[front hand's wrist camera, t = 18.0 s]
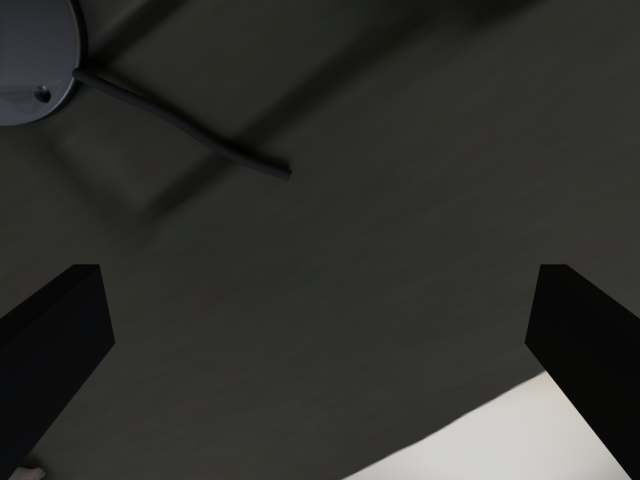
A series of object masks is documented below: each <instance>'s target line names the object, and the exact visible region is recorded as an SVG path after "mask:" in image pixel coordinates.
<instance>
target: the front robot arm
mask: <svg viewBox="0 0 640 480" xmlns="http://www.w3.org/2000/svg"><path fill="white" fill-rule="evenodd" d="M87 60H88V37H87V30H86V25H85V21H84V17H83V14H82V11H81V8H80V5H79V3H78V0H0V126H13V125H21V124H27V123H33V122H37V121H41V120H44V119H46V118H49V117H51V116H52V115H54V114H56V113H58V112H59V111H60V110H62V109H63V108H64V107H65V106H66V105H67V104H68V103H69V102H70V101H71V100H72V98H73V97H74V96H75V94H76V93H77V91H78V89H79V87H80V85H81V83H82V82H83V83H85V84H88V85H90V86H92V87H94V88H96V89H99V90H101V91H103V92H105V93H107V94H110V95H112V96H114V97H116V98H118V99H121V100H123V101H125V102H127V103H130V104H132V105H135V106H137V107H139V108H142V109H144V110H146V111H148V112H151V113H153V114H155V115H157V116H159V117H161V118H163V119H165V120H167V121H168V122H170V123H172V124H174V125H175V126H177V127H179V128H180V129H182V130H183V131H185V132H186V133H188V134H189V135H191V136H192V137H194V138H195V139H196V140H198V141H199V142H201V143H202V144H204V145H205V146H207V147H209V148H210V149H212V150H214V151H215V152H217V153H219V154H221V155H223V156H225V157H227V158H229V159H231V160H233V161H235V162H238V163H240V164H242V165H245V166H248V167H250V168H253V169H256V170H259V171H262V172H265V173H268V174H271V175H273V176H276V177H279V178H282V179H285V180H287V181H288V180H289V177H290V175H291V172H292V171H290V170H287V169H285V168H282V167H279V166H276V165H273V164H270V163H267V162H264V161H262V160H259V159H256V158H253V157H251V156H248V155H245V154H243V153H241V152H239V151H236V150H234V149H232V148H230V147H228V146H226V145H224V144H223V143H221V142H219V141H217V140H216V139H214V138H213V137H211V136H209V135H208V134H206V133H205V132H204V131H202V130H201V129H199V128H198V127H196V126H195V125H193V124H192V123H190V122H189V121H187V120H186V119H184V118H183V117H181V116H179V115H178V114H176V113H174V112H173V111H171V110H169V109H167V108H165V107H163V106H161V105H159V104H157V103H155V102H153V101H151V100H149V99H146V98H144V97H142V96H139V95H137V94H135V93H132V92H130V91H128V90H126V89H123V88H121V87H119V86H117V85H115V84H113V83H110V82H108V81H106V80H104V79H102V78H100V77H98V76H95V75H93V74H91V73H89V72H87V71H86V67H87ZM114 344H115V339H114V334H113V329H112V324H111V319H110V314H109V309H108V304H107V300H106V295H105V290H104V285H103V280H102V275H101V270H100V265H99V264H73V265H72V266H71V267H69V268H68V269H67V270H65V271H64V272H63V273H61V274H60V275H59V276H57V277H56V278H55V279H53V280H52V281H51V282H49V283H48V284H46V285H45V286H44V287H42V288H41V289H40V290H38V291H37V292H36V293H34V294H33V295H32V296H30V297H29V298H28V299H26V300H25V301H24V302H22V303H21V304H19V305H18V306H17V307H15V308H14V309H13V310H11V311H10V312H9V313H7V314H6V315H5V316H3V317H2V318H1V319H0V480H8V479H9V478H10V477H11V476H12V474H13V473H14V472H15V470H16V469H17V468H18V467H19V465H20V464H21V463H22V462H23V460H24V459H25V458H26V456H27V455H28V454H29V453H30V451H31V450H32V449H33V448H34V446H35V445H36V444H37V442H38V441H39V440H40V439H41V437H42V436H43V435H44V433H45V432H46V431H47V430H48V428H49V427H50V426H51V425H52V423H53V422H54V421H55V419H56V418H57V417H58V416H59V414H60V413H61V412H62V411H63V409H64V408H65V407H66V405H67V404H68V403H69V402H70V400H71V399H72V398H73V396H74V395H75V394H76V393H77V391H78V390H79V389H80V388H81V386H82V385H83V384H84V382H85V381H86V380H87V379H88V377H89V376H90V375H91V374H92V372H93V371H94V370H95V368H96V367H97V366H98V365H99V363H100V362H101V361H102V359H103V358H104V357H105V356H106V354H107V353H108V352H109V351H110V349H111V348H112V347H113V345H114ZM525 344H526V345H527V347H528V348H529V349H530V351H531V352H532V353H533V354H534V356H535V357H536V358H537V359H538V361H539V362H540V363H541V365H542V366H543V367H544V368H545V370H546V371H547V372H548V374H549V375H550V376H551V377H552V379H553V380H554V381H555V382H556V384H557V385H558V386H559V388H560V389H561V390H562V391H563V393H564V394H565V395H566V396H567V398H568V399H569V400H570V402H571V403H572V404H573V405H574V407H575V408H576V409H577V410H578V412H579V413H580V414H581V416H582V417H583V418H584V419H585V421H586V422H587V423H588V425H589V426H590V427H591V428H592V430H593V431H594V432H595V433H596V435H597V436H598V437H599V439H600V440H601V441H602V442H603V444H604V445H605V446H606V448H607V449H608V450H609V451H610V453H611V454H612V455H613V456H614V458H615V459H616V460H617V462H618V463H619V464H620V465H621V467H622V468H623V469H624V470H625V472H626V473H627V474H628V476H629V477H630V478H631V479H632V480H640V319H639V318H638V317H637V316H635V315H634V314H633V313H631V312H630V311H629V310H627V309H626V308H625V307H623V306H622V305H621V304H619V303H618V302H616V301H615V300H614V299H612V298H611V297H610V296H608V295H607V294H606V293H604V292H603V291H602V290H600V289H599V288H598V287H596V286H595V285H594V284H592V283H591V282H589V281H588V280H587V279H585V278H584V277H583V276H581V275H580V274H579V273H577V272H576V271H575V270H573V269H572V268H571V267H569V266H568V265H567V264H541V265H540V270H539V275H538V280H537V285H536V290H535V295H534V300H533V304H532V309H531V314H530V319H529V324H528V329H527V334H526V339H525Z"/></svg>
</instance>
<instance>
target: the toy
mask: <svg viewBox="0 0 640 480" xmlns="http://www.w3.org/2000/svg"><path fill="white" fill-rule="evenodd" d="M44 475H45V472H43V470H42V469H41V468H36V469H27V468H22V467H18V468H17V469H16V470H15V472H14V473H13V474H12V476H11V477H10V478H9V479H8V480H40V479H41V478H42V477H43V476H44Z"/></svg>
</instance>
